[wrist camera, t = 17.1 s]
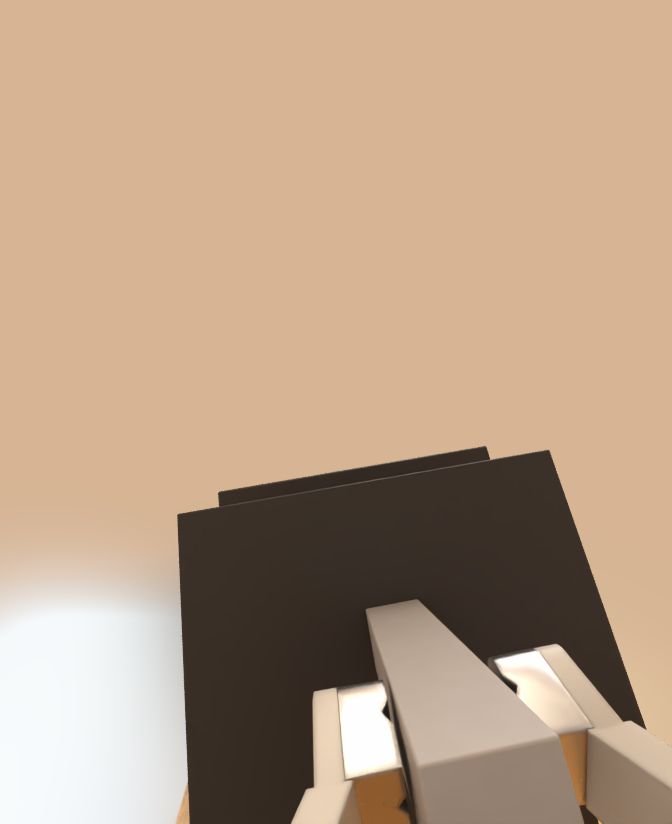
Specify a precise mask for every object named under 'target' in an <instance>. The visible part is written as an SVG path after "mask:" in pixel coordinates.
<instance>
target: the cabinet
mask: <svg viewBox="0 0 672 824" xmlns="http://www.w3.org/2000/svg"><path fill="white" fill-rule="evenodd" d="M486 460H490V457H489V454H488V451H487V448H486V446H483V447H477V448H471V449H465V450H459V451H454V452H448V453H442V454H436V455H430V456H424V457H418V458H413V459H407V460H401V461H395V462H389V463H384V464H378V465H372V466H367V467H360V468H354V469H349V470H343V471H337V472H331V473H325V474H320V475H314V476H308V477H302V478H296V479H290V480H285V481H279V482H273V483H268V484H261V485H256V486H250V487H244V488H238V489H232V490H226V491H221V492H219V493H218V498H219V507H222V506H227V505H233V504H239V503H245V502H250V501H256V500H262V499H268V498H273V497H279V496H285V495H291V494H296V493H302V492H308V491H314V490H319V489H325V488H331V487H337V486H342V485H348V484H354V483H360V482H365V481H371V480H377V479H383V478H388V477H394V476H400V475H406V474H411V473H417V472H423V471H429V470H434V469H440V468H446V467H452V466H457V465H463V464H469V463H475V462H480V461H486ZM579 807H580V810H581V814H582V817H583V821H584V824H599V823H598V819H597V818H596V817H595V816H594V815H593V814H592V813H591V812H590V811H589V810H588V809H587V808H586V805H581V806H579Z"/></svg>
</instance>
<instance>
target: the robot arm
mask: <svg viewBox="0 0 672 824" xmlns="http://www.w3.org/2000/svg"><path fill="white" fill-rule="evenodd" d="M488 668H489V669H490V670H491V671H492V672H493V673H494V674H495V675H496V676H497V677H498V678H499V679H500V680H501V681H502V682H503V683H504V684H506V685H507V686H508V687H509V688H510V689H511V690H512V691H513V692H514V693H515V694H516V695H517V696H518V697H519V698H520V699H521V700H522V701H523V702H524V703H525V704H526V705H527V706H528V707H529V708H530V709H531V710H532V711H533V712H534V713H536V714H537V715H538V716H539V717H540V718H541V719H542V720H543V721H544V722H545V723H546V724H547V725H548V726H549V727H550V728H551V729H552V730H553V731H554V732H555V733H556V734H557V735H558V736H559V738H560V741H561V745H562V748H563V751H564V755H565V758H566V762H567V765H568V769H569V772H570V776H571V779H572V783H573V786H574V790H575V793H576V797H577V800H578V803H579V806H581V805H586V808H587V809H588V810H589V811H590V812H591V813H592V814H593V815H594V816H595V817H596V818H597V819H598V820H599V821H601V822H602V823H603V824H672V746H671V745H670V744H668V743H666V742H665V741H663V740H662V739H660V738H658V737H656V736H655V735H653V734H652V733H650V732H649V731H647V730H645V729H644V728H642V727H640V726H639V725H637V724H635V723H634V722H632V721H625V722H623V721H622V720H621V719H620V717H619V716H618V715H617V714H616V713H615V711H614V710H613V709H612V708H611V706H610V705H609V704H608V703H607V702H606V700H605V699H604V698H603V697H602V695H601V694H600V693H599V692H598V691H597V689H596V688H595V687H594V686H593V685H592V683H591V682H590V681H589V680H588V678H587V677H586V676H585V675H584V674H583V672H582V671H581V670H580V669H579V667H578V666H577V665H576V664H575V663H574V661H573V660H572V659H571V658H570V656H569V655H568V654H567V653H566V652H565V650H564V649H563V648H562V647H561V646H559V645H558V644H552V645H547V646H542V647H538V648H534V649H532V648H530V649H525V650H520V651H516V652H511V653H507V654H502V655H497V656H493V657H489V659H488ZM313 756H314V788H310V789H306V791H305V793H304V796H303V798H302V800H301V802H300V804H299V807H298V809H297V811H296V813H295V816H294V818H293V820H292V822H291V824H410V817H409V811H408V807H407V802H406V789H405V782H404V776H403V770H402V764H401V759H400V755H399V750H398V745H397V741H396V736H395V731H394V727H393V724H392V723H391V719H390V712H389V706H388V700H387V695H386V691H385V686H384V682H383V680H378V681H372V682H366V683H360V684H354V685H348V686H342V687H336V688H331V689H325V690H320V691H315V692H314V694H313Z"/></svg>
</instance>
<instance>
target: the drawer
mask: <svg viewBox="0 0 672 824" xmlns="http://www.w3.org/2000/svg"><path fill="white" fill-rule="evenodd" d="M177 516H178V543H179V568H180V593H181V617H182V642H183V665H184V666H183V667H184V690H185V717H186V741H187V764H188V765H187V767H188V791H189V816H190V824H291V822H292V820H293V818H294V816H295V813H296V811H297V809H298V807H299V804H300V802H301V800H302V798H303V796H304V793H305V791H306V789H310V788H314V756H313V694H314V692H315V691H320V690H325V689H331V688H336V687H342V686H348V685H354V684H360V683H366V682H372V681H378V680H383V682H384V686H385V691H386V695H387V700H388V706H389V712H390V719H391V723H392V724H393V727H394V731H395V736H396V741H397V745H398V750H399V755H400V759H401V764H402V770H403V776H404V782H405V789H406V802H407V807H408V811H409V817H410V824H584V821H583V817H582V814H581V810H580V807H579V803H578V800H577V797H576V793H575V790H574V786H573V783H572V779H571V776H570V772H569V769H568V765H567V762H566V758H565V755H564V751H563V748H562V745H561V741H560V738H559V736H558V735H557V734H556V733H555V732H554V731H553V730H552V729H551V728H550V727H549V726H548V725H547V724H546V723H545V722H544V721H543V720H542V719H541V718H540V717H539V716H538V715H537V714H536V713H534V712H533V711H532V710H531V709H530V708H529V707H528V706H527V705H526V704H525V703H524V702H523V701H522V700H521V699H520V698H519V697H518V696H517V695H516V694H515V693H514V692H513V691H512V690H511V689H510V688H509V687H508V686H507V685H506V684H504V683H503V682H502V681H501V680H500V679H499V678H498V677H497V676H496V675H495V674H494V673H493V672H492V671H491V670H490V669H489V668H488V659H489V657H493V656H497V655H502V654H507V653H511V652H516V651H520V650H525V649H530V648H532V649H534V648H538V647H542V646H547V645H552V644H558V645H559V646H561V647H562V648H563V649H564V650H565V652H566V653H567V654H568V655H569V656H570V658H571V659H572V660H573V661H574V663H575V664H576V665H577V666H578V667H579V669H580V670H581V671H582V672H583V674H584V675H585V676H586V677H587V678H588V680H589V681H590V682H591V683H592V685H593V686H594V687H595V688H596V689H597V691H598V692H599V693H600V694H601V695H602V697H603V698H604V699H605V700H606V702H607V703H608V704H609V705H610V706H611V708H612V709H613V710H614V711H615V713H616V714H617V715H618V716H619V717H620V719H621V720H622V721H623V722H625V721H632V722H634V723H635V724H637V725H639V726H640V727H642V728H644V729H645V730H646V727H645V724H644V721H643V718H642V715H641V713H640V710H639V707H638V704H637V701H636V698H635V695H634V692H633V690H632V687H631V684H630V681H629V678H628V675H627V672H626V670H625V667H624V664H623V661H622V658H621V655H620V652H619V649H618V646H617V644H616V641H615V639H614V635H613V632H612V629H611V626H610V624H609V621H608V618H607V615H606V612H605V609H604V606H603V603H602V601H601V598H600V595H599V592H598V589H597V586H596V583H595V580H594V577H593V575H592V572H591V569H590V566H589V563H588V560H587V558H586V555H585V552H584V549H583V546H582V543H581V540H580V537H579V535H578V532H577V529H576V526H575V523H574V520H573V518H572V514H571V512H570V509H569V506H568V503H567V500H566V497H565V494H564V491H563V489H562V486H561V483H560V480H559V477H558V474H557V471H556V468H555V465H554V463H553V460H552V457H551V454H550V451H549V450H544V451H538V452H532V453H526V454H521V455H515V456H509V457H503V458H498V459H492V460H486V461H480V462H475V463H469V464H463V465H457V466H452V467H446V468H440V469H434V470H429V471H423V472H417V473H411V474H406V475H400V476H394V477H388V478H383V479H377V480H371V481H365V482H360V483H354V484H348V485H342V486H337V487H331V488H325V489H319V490H314V491H308V492H302V493H296V494H291V495H285V496H279V497H273V498H268V499H262V500H256V501H250V502H245V503H239V504H233V505H227V506H222V507H216V508H210V509H204V510H199V511H193V512H188V513H182V514H178V515H177Z"/></svg>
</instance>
